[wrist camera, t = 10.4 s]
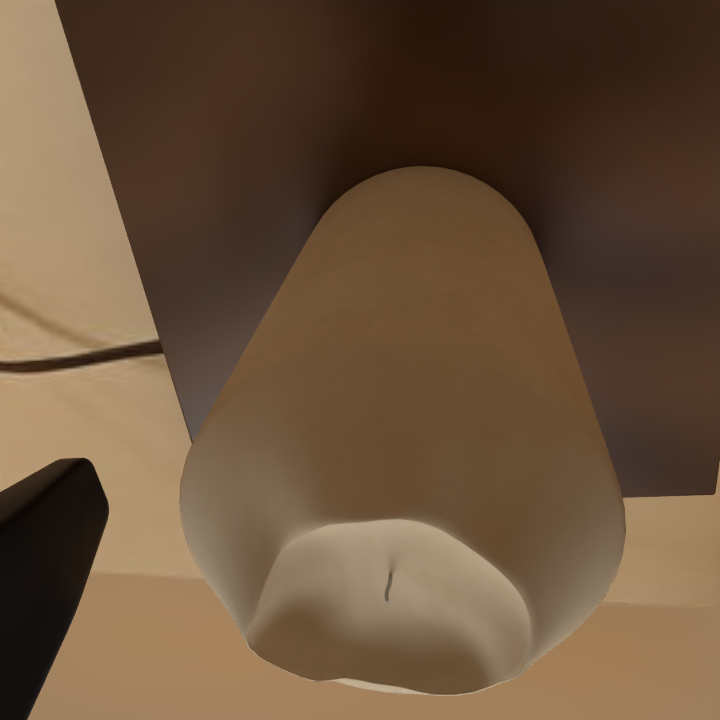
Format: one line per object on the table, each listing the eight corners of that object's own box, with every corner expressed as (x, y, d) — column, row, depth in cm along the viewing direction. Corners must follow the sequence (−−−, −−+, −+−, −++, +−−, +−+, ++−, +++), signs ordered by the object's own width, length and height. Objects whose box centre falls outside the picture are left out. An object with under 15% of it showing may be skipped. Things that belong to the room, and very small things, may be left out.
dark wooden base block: (692, 450, 20) (716, 495, 18) (231, 469, 22) (212, 511, 20) (756, -140, 13) (804, -161, 11) (91, -22, 15) (45, -24, 14)
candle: (326, 389, 18) (204, 783, 9) (283, 179, 15) (54, 438, 6) (544, 374, 17) (647, 799, 8) (537, 146, 14) (678, 400, 5)
